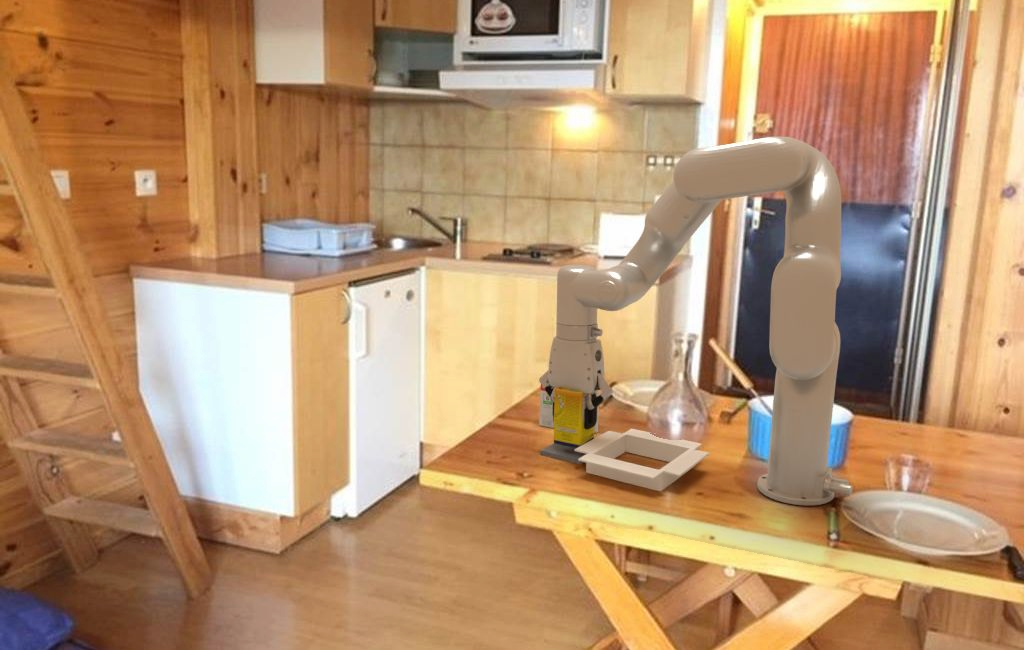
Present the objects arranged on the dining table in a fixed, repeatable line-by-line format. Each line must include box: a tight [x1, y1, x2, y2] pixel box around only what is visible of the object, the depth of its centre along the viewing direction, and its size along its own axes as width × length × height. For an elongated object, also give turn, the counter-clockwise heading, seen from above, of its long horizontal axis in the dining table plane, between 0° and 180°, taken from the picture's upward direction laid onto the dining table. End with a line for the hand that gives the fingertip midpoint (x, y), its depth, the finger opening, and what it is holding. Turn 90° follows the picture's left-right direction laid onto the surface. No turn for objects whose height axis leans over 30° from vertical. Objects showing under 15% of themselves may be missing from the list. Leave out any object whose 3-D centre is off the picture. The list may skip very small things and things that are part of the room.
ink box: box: [538, 383, 554, 429], centre depth 180 cm, size 4×8×15 cm, turn 152°
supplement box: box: [553, 388, 595, 448], centre depth 162 cm, size 6×6×11 cm
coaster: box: [539, 442, 586, 465], centre depth 164 cm, size 9×9×1 cm
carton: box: [574, 428, 710, 492], centre depth 155 cm, size 21×21×4 cm
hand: (574, 423), depth 162 cm, fingers closed on supplement box, 6 cm apart
